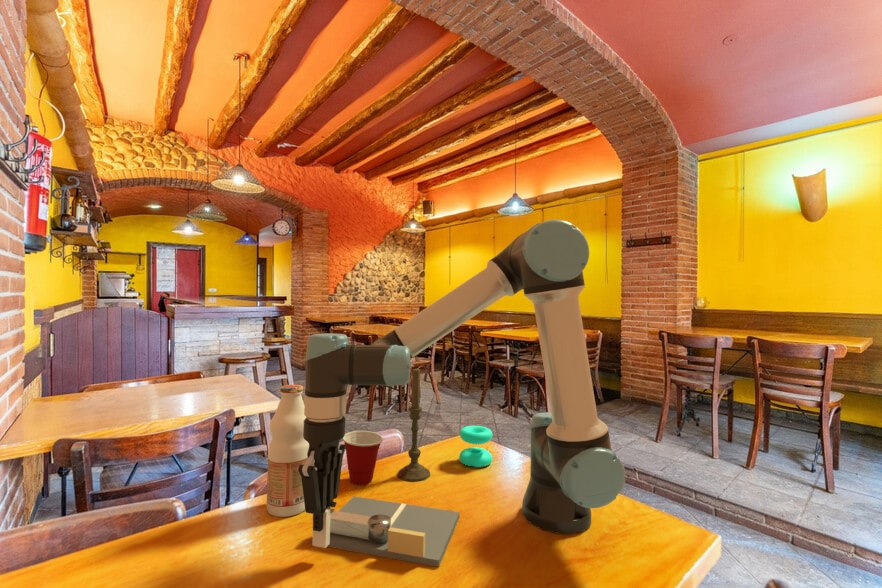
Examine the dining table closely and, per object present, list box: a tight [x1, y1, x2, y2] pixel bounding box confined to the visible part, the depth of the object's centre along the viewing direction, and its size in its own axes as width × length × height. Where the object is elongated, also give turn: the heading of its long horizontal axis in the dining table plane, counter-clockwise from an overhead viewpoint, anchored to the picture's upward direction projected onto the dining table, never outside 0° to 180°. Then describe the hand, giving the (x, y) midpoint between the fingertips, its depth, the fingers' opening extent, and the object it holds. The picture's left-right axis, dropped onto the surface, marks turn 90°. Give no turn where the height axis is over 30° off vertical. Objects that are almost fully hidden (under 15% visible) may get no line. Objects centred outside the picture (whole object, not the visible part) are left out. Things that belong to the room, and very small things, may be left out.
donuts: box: [458, 425, 493, 468], centre depth 124 cm, size 10×10×10 cm
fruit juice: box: [266, 384, 309, 518], centre depth 95 cm, size 9×9×28 cm
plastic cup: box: [342, 430, 384, 486], centre depth 110 cm, size 11×11×12 cm
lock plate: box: [311, 496, 460, 568], centre depth 86 cm, size 26×18×5 cm
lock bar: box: [330, 508, 391, 543], centre depth 82 cm, size 14×4×3 cm, turn 75°
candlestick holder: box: [397, 367, 431, 482], centre depth 115 cm, size 9×9×30 cm
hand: (321, 544), depth 76 cm, fingers closed
